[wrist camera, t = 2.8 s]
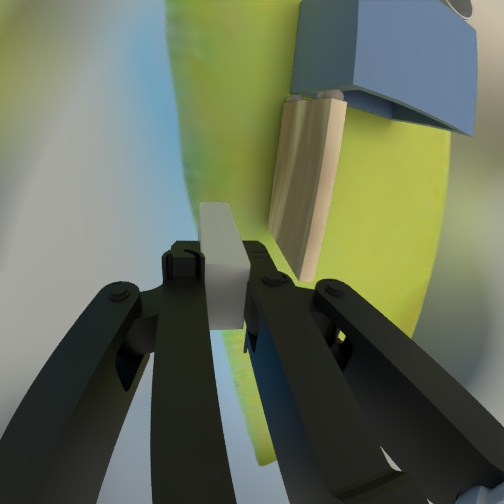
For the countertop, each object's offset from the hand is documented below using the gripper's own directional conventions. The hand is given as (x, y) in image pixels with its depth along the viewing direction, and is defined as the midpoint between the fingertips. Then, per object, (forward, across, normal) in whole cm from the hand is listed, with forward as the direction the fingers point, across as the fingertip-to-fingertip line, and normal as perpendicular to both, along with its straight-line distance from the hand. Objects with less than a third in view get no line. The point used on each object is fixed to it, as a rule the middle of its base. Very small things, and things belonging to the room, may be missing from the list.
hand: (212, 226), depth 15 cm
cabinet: (+15, +15, +16) cm, 26 cm away
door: (+14, +8, +2) cm, 16 cm away
